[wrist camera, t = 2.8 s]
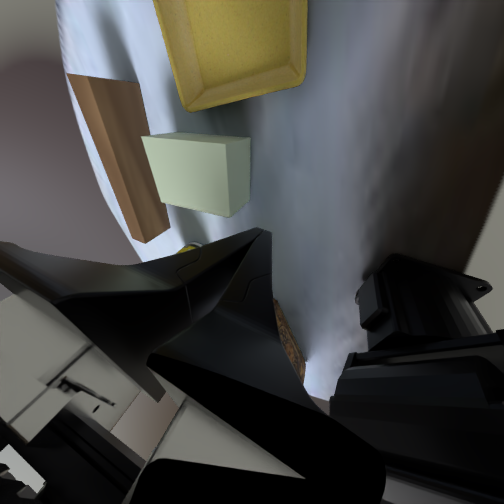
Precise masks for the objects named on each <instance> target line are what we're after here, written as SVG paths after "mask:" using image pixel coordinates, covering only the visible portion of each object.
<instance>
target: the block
mask: <svg viewBox="0 0 504 504" xmlns="http://www.w3.org/2000/svg"><path fill="white" fill-rule="evenodd" d="M141 138H142V141H143V144H144V148H145V151H146V154H147V157H148V161H149V164H150V167H151V170H152V174H153V177H154V180H155V183H156V187H157V190H158V193H159V196H160V200H161V202H162V203H167V204H171V205H175V206H180V207H184V208H188V209H193V210H197V211H201V212H206V213H210V214H214V215H219V216H223V217H227V218H231V217H232V216H233V215H234V214H235V213H236V212H238V211H239V210H240V209H241V208H242V207H243V206H244V205H245V204H247V203H248V202H249V201H250V150H251V138H249V137H236V136H223V135H209V134H196V133H182V132H174V133H166V134H157V135H149V136H141Z"/></svg>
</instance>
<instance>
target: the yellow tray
mask: <svg viewBox="0 0 504 504" xmlns="http://www.w3.org/2000/svg"><path fill="white" fill-rule="evenodd" d="M307 2H308V0H153V3H154V7H155V10H156V15H157V18H158V21H159V24H160V28H161V31H162V35H163V39H164V42H165V46H166V49H167V53H168V57H169V60H170V64H171V67H172V71H173V75H174V78H175V82H176V86H177V90H178V94H179V97H180V101H181V104H182V106H183V108H184V109H185V110H186V111H187V112H189V113H192V112H196V111H200V110H204V109H208V108H212V107H216V106H219V105H223V104H227V103H231V102H235V101H239V100H243V99H247V98H250V97H255V96H260V95H263V94H268V93H271V92H276V91H280V90H284V89H289V88H294V87H297V86H299V85H300V84H301V83H302V82H303V81H304V78H305V75H306V58H307V9H308V5H307Z"/></svg>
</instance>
